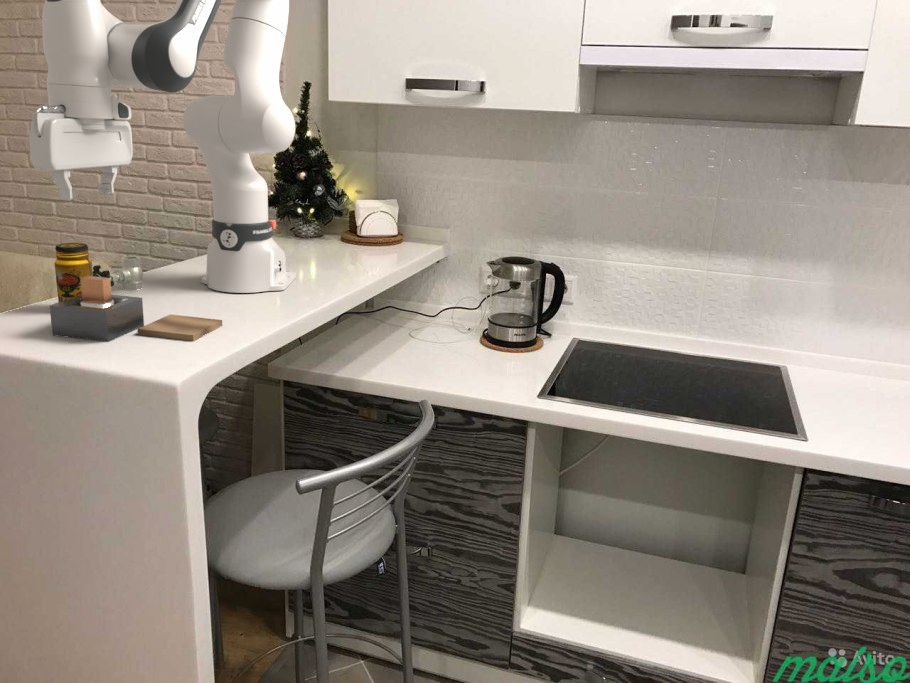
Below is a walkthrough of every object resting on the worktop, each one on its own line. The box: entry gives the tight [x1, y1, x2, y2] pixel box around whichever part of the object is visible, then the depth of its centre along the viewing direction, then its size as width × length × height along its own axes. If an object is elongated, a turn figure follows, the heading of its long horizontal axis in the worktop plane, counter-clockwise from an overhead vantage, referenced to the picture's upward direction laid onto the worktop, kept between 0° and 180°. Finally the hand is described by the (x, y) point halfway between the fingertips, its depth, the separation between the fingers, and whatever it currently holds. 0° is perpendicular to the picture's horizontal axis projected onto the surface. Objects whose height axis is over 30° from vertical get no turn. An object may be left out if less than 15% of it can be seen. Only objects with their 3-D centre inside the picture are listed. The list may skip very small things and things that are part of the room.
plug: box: [80, 276, 114, 308], centre depth 125 cm, size 5×5×9 cm
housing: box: [49, 293, 145, 343], centre depth 126 cm, size 10×10×5 cm
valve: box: [92, 255, 144, 291], centre depth 150 cm, size 7×7×12 cm
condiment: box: [54, 242, 94, 303], centre depth 137 cm, size 7×8×12 cm
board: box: [137, 314, 223, 342], centre depth 129 cm, size 10×10×1 cm
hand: (88, 197), depth 120 cm, fingers open, 8 cm apart
